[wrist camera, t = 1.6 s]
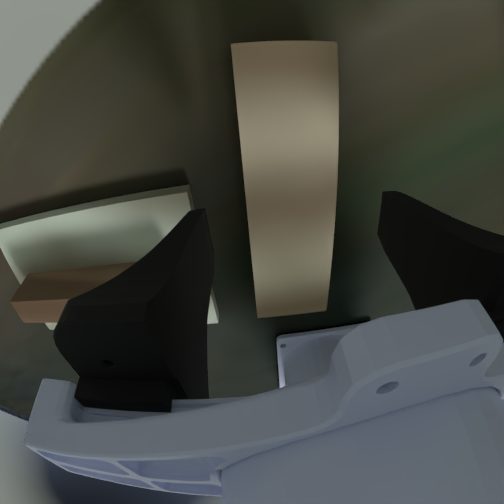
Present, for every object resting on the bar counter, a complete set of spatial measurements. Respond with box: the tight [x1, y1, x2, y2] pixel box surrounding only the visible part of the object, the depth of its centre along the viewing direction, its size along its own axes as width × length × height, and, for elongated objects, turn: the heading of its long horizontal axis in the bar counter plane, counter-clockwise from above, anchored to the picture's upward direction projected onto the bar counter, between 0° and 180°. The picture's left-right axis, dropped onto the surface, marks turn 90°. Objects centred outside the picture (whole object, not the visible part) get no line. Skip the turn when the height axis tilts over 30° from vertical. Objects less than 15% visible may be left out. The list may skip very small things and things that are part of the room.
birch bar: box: [231, 41, 339, 318], centre depth 15 cm, size 14×4×4 cm, turn 5°
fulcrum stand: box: [0, 185, 219, 330], centre depth 18 cm, size 10×15×4 cm, turn 96°
